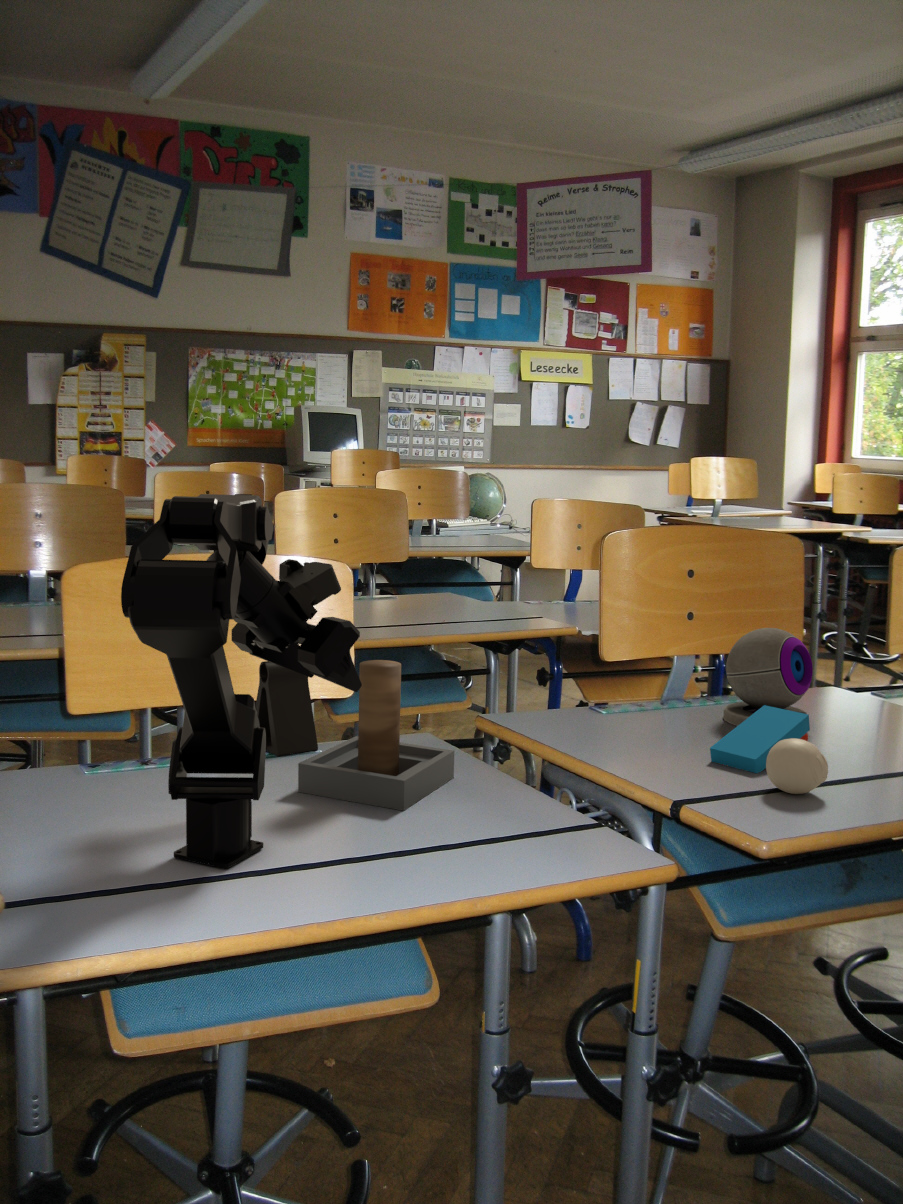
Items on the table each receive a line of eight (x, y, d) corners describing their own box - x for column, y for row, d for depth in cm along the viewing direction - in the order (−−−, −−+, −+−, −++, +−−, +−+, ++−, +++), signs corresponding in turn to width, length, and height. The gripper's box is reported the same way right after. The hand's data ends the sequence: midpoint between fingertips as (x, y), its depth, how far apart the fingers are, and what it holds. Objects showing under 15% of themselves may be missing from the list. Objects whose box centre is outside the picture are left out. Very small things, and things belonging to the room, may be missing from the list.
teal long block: (759, 806, 135) (824, 747, 146) (755, 759, 133) (821, 703, 144) (714, 793, 140) (780, 737, 151) (709, 747, 138) (777, 695, 149)
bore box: (403, 810, 115) (404, 780, 115) (298, 791, 121) (298, 763, 120) (453, 777, 128) (454, 750, 127) (356, 762, 133) (356, 736, 133)
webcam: (780, 736, 152) (787, 637, 150) (706, 719, 162) (712, 626, 160) (822, 723, 161) (829, 629, 159) (750, 707, 171) (756, 619, 169)
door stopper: (318, 750, 138) (319, 664, 137) (277, 757, 135) (278, 668, 133) (288, 735, 145) (289, 652, 144) (249, 741, 142) (249, 656, 140)
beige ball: (819, 805, 121) (823, 751, 120) (757, 793, 125) (761, 740, 124) (832, 791, 127) (836, 739, 126) (773, 780, 130) (776, 729, 130)
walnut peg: (386, 793, 121) (389, 669, 119) (349, 787, 123) (352, 665, 121) (405, 782, 125) (408, 662, 123) (369, 776, 127) (372, 658, 125)
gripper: (346, 545, 106) (425, 640, 114) (254, 533, 120) (331, 618, 128) (280, 626, 102) (367, 718, 110) (193, 604, 115) (276, 687, 124)
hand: (335, 681), depth 118 cm, fingers open, 9 cm apart
